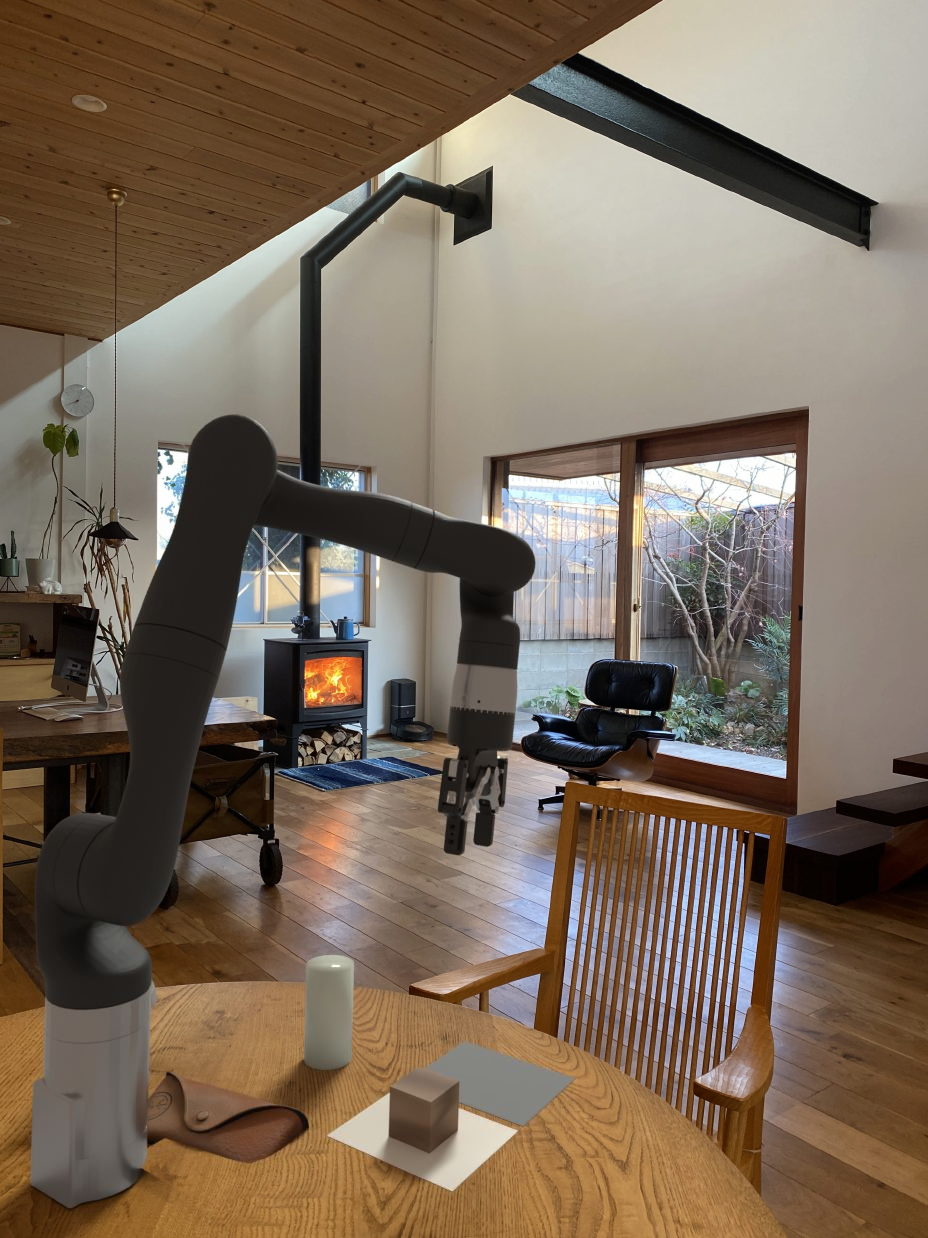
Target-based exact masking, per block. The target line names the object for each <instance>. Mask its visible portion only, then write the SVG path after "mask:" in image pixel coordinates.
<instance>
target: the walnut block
mask: <svg viewBox="0 0 928 1238" xmlns="http://www.w3.org/2000/svg"><path fill="white" fill-rule="evenodd" d="M425 1068H426V1067H422V1066H419V1065H418V1066H417V1067H416V1068H415V1069H414V1070H413V1069H412V1071H411V1072H409V1073H407V1074H406V1075H404V1076H403V1077H402V1078H400V1079H399V1080H397V1081H396V1082H394V1083H393V1084H391V1085H389V1093H390V1102H389V1135H388V1136H389V1137H391V1138H394V1139H396V1140H398V1141H401V1142H403V1143H406V1144H408V1145H410V1146H413V1147H415V1148H417V1149H420V1150H422V1151H424V1152H427V1153H429V1154H430V1153H431V1152H432V1151H433V1150H435V1149H436V1148H437V1147H438V1146H439V1145H441V1144H442V1143H443V1142H444V1141H445V1140H447V1139H448V1138H449V1137H450V1136H451V1135H453V1134H454V1133H455V1132H456V1131H458V1115H459V1108H460V1107H459V1106H460V1104H459V1082H460V1081H458V1080H455V1079H453V1078H450V1077H447V1076H445V1075H442V1074H439V1073H436V1072H434V1071H431V1070H428V1069H425Z"/></svg>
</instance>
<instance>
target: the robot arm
mask: <svg viewBox="0 0 928 1238" xmlns="http://www.w3.org/2000/svg"><path fill="white" fill-rule="evenodd" d="M278 467H279V459H278V453H277V448H276V446H275V443H274V440H273V438H272V437H271V435H270V433H269V432H268V431H267V429H266V428H265V427H264V426H263V425H262V424H261V423H260V422H258V421H257V420H255V419H253V418H252V417H250V416H246V415H242V414H238V413H237V414H234V413H233V414H227V415H221V416H219V417H216V418H214V419H212V420H210V421H209V422H208V423H206V424H205V425H204V426H203V427H202V428H201V429H200V430H199V431H198V432H197V433H196V434H195V436H194V438H193V439H192V440H191V443H190V446H189V450H188V454H187V462H186V472H185V477H184V482H183V483H184V484H183V489H182V493H181V498H180V503H179V508H178V512H177V515H176V520H175V522H174V526H173V529H172V532H171V535H170V537H169V540H168V542H167V544H166V547H165V549H164V551H163V553H162V555H161V558H160V560H159V562H158V565H157V566H156V569H155V571H154V572H153V576H152V579H151V581H150V583H149V585H148V587H147V590H146V593H145V595H144V599H143V600H142V604H141V606H140V609H139V612H138V614H137V617H136V619H135V622H134V624H133V628H132V631H131V634H130V636H129V637H130V638H129V641H128V644H127V647H126V650H125V654H124V657H123V660H122V662H121V668H120V673H119V691H120V698H121V705H122V706H121V707H122V711H123V715H124V720H125V721H124V722H125V725H126V728H127V729H126V730H127V735H128V741H129V750H130V751H129V753H130V754H129V755H130V756H129V757H130V759H129V769H128V775H127V778H126V782H125V786H124V787H125V788H124V790H123V795H122V798H121V802H120V805H119V808H118V811H117V814H116V816H113V815H106V814H100V813H90V812H85V813H84V812H81V813H75V814H73V815H70V816H68V817H66V818H64V819H62V820H61V821H60V822H58V823H57V824H56V825H55V826H54V827H53V828H52V830H50V832H49V833H48V835H47V836H46V838H45V839H44V841H43V844H42V846H41V848H40V850H39V854H38V858H37V862H36V867H35V869H36V870H35V878H34V879H35V880H34V913H35V914H34V915H35V917H34V918H35V920H34V921H35V949H36V961H37V964H38V966H39V969H40V972H41V975H42V977H43V979H44V983H45V985H44V987H45V989H44V993H45V994H44V995H45V997H44V998H45V999H44V1029H43V1030H44V1032H43V1035H44V1037H43V1065H42V1066H43V1068H42V1077H40V1078H38V1079H36V1080H35V1081H34V1082H33V1084H32V1103H31V1105H32V1107H31V1108H32V1109H31V1115H32V1116H31V1145H30V1146H31V1148H30V1150H31V1151H30V1183H29V1185H31V1186H32V1187H34V1188H36V1190H38V1191H41V1192H42V1193H44V1194H45V1195H47V1196H48V1197H50V1198H52V1199H54V1201H56V1202H58V1203H60V1204H62V1206H64V1207H66V1208H68V1209H73V1208H75V1207H76V1206H78V1205H80V1204H82V1203H87V1202H94V1201H98V1200H102V1199H105V1198H108V1197H109V1198H110V1197H111V1196H114V1195H116V1194H118V1193H121V1192H122V1191H124V1190H126V1189H127V1188H130V1187H131V1186H133V1184H135V1183H136V1182H137V1181H138V1180H139V1178H141V1177H142V1175H143V1174H144V1172H145V1169H144V1168H143V1166H144V1165H145V1163H146V1160H147V1156H148V1155H147V1154H148V1153H147V1152H148V1143H147V1128H148V1099H149V1088H150V1087H149V1084H150V1083H149V1081H150V1079H149V1078H150V1050H151V1049H150V1045H151V1044H150V1043H151V1012H152V1010H151V1009H152V1008H151V981H153V979H152V978H153V977H152V973H153V965H152V957H151V955H150V953H149V951H148V949H146V948H145V947H144V946H143V945H142V944H141V943H140V942H139V941H138V940H137V939H136V938H135V937H133V935H132V934H131V933H130V932H129V930H128V929H127V927H130V926H135V925H138V924H140V923H142V922H144V921H146V919H148V918H149V917H151V915H152V914H153V913H154V912H155V911H156V910H157V909H158V907H159V905H160V904H161V902H162V901H163V899H164V897H165V895H166V893H167V891H168V889H169V886H170V884H171V882H172V881H171V880H172V877H173V874H174V871H175V867H176V866H175V865H176V862H177V857H178V853H179V848H180V844H181V843H180V842H181V838H182V831H183V825H184V820H185V814H186V808H187V803H188V798H189V792H190V786H191V780H192V777H193V772H194V769H195V764H196V759H197V755H198V752H199V748H200V744H201V740H202V736H203V731H204V728H205V724H206V720H207V718H208V715H209V710H210V706H211V703H212V700H213V697H214V694H215V691H216V688H217V685H218V683H219V680H220V675H221V671H222V669H223V665H224V660H225V657H226V654H227V651H228V646H229V642H230V637H231V634H232V628H233V624H234V618H235V615H236V614H235V612H236V608H237V603H238V598H239V597H238V596H239V590H240V583H241V577H242V570H243V565H244V564H243V563H244V558H245V554H246V550H247V546H248V543H249V539H250V536H251V533H252V531H253V528H254V526H256V527H262V528H268V529H274V530H279V531H284V532H289V533H293V534H298V535H302V536H306V537H311V538H316V539H319V540H323V541H327V542H331V543H334V544H337V545H341V546H345V547H349V548H352V549H355V550H359V551H361V552H364V553H367V554H370V555H373V556H376V557H378V558H382V559H385V560H387V561H391V562H394V563H397V564H399V565H402V566H405V567H408V568H410V569H411V568H412V569H414V570H418V571H420V572H425V573H430V574H437V573H438V574H439V573H440V574H441V573H442V574H447V575H450V576H453V577H456V578H458V579H459V608H460V609H459V610H460V620H461V624H460V625H461V629H460V633H459V638H458V639H459V642H458V648H457V659H456V666H455V671H454V676H453V681H452V686H451V695H450V705H449V714H448V715H449V716H448V723H447V724H448V725H447V734H446V742H447V744H448V745H449V746H453V747H457V748H458V751H457V752H458V753H457V757H456V758H454V757H445V758H444V760H443V764H442V772H441V779H440V787H439V788H440V789H439V794H438V803H437V812H438V814H443V817H444V818H446V821H445V823H446V824H445V832H444V840H443V841H444V844H443V851H444V853H445V854H447V855H453V856H462V855H463V854H464V853H465V850H466V849H465V848H466V841H467V830H468V818H469V816H470V813H471V810H472V808H473V806H475V807H476V811H477V812H475V822H474V829H473V830H474V831H473V839H472V840H473V841H472V842H473V844H474V845H476V846H480V847H485V848H486V847H491V846H492V845H493V843H494V834H495V824H496V823H495V822H496V815H497V814H498V813H499V811H500V808H504V807H505V804H506V795H507V794H506V792H507V780H508V779H507V777H508V766H509V759H508V757H507V756H506V757H504V756H501V755H498V752H509V751H511V749H512V748H513V740H514V731H515V722H516V721H515V720H516V709H517V703H518V702H517V699H518V668H519V667H518V665H519V655H520V645H521V630H520V626H519V623H517V622H516V620H515V619H514V604H515V603H514V599H515V593H516V592H518V591H520V590H521V589H523V588H524V587H525V586H526V585H527V584H528V583H529V582H530V581H531V579H532V578H533V576H534V573H535V571H536V570H535V569H536V558H535V557H536V556H535V553H534V551H533V549H532V547H531V546H530V545H529V543H528V542H527V541H526V540H525V539H524V538H523V537H521V536H520V535H518V534H517V533H514V532H512V531H509V530H506V529H504V528H501V527H497V526H494V525H490V524H485V523H481V522H477V521H472V520H467V519H461V518H456V517H452V516H449V515H447V514H444V513H442V512H439V511H438V510H437V511H436V510H435V509H431V508H429V507H426V506H422V505H420V504H417V503H415V502H411V501H409V500H407V499H403V498H401V497H398V496H394V495H389V494H384V493H380V492H374V491H366V490H365V491H363V490H354V489H353V490H352V489H343V488H342V489H341V488H333V487H328V486H323V485H319V484H315V483H310V482H307V481H304V480H302V479H299V478H296V477H293V476H291V475H290V474H287V473H285V472H283V471H282V470H279V469H278Z"/></svg>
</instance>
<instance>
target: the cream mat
mask: <svg viewBox="0 0 928 1238" xmlns="http://www.w3.org/2000/svg"><path fill="white" fill-rule="evenodd" d="M389 1102H390V1092H388V1093H387V1094H385V1095H384V1096H383V1097H380V1098H379V1099H377V1101H375V1102H373V1103H372V1104H370V1105H369V1106H368V1107H366V1108H365V1109H364V1110H362V1111H360V1112H359V1113H357V1114H356V1115H355V1116H353V1117H351V1118H350V1119H349V1120H347V1121H346V1122H344V1123H343V1124H342V1125H340V1126H339V1127H337V1128H336V1129H334V1130H333V1131H331V1132H330V1133H329V1134H327V1135H326V1137H328V1138H330V1139H333V1140H335V1141H337V1142H339V1143H341V1144H344V1145H346V1146H349V1147H351V1148H353V1149H356V1150H358V1151H360V1152H362V1153H364V1154H366V1155H369V1156H371V1157H373V1158H376V1159H377V1160H380V1161H383V1162H384V1163H387V1164H388V1165H391V1166H394V1167H396V1168H398V1169H400V1170H402V1171H405V1172H407V1173H409V1174H411V1175H414V1176H415V1177H419V1178H420V1179H423V1180H425V1181H427V1182H429V1183H431V1184H433V1185H436V1186H438V1187H440V1188H442V1189H445V1190H447V1191H449V1192H454V1191H455V1190H456V1189H457V1188H459V1186H461V1184H463V1183H464V1182H465V1181H466V1180H467V1179H468V1178H469V1177H470V1176H471V1175H472V1174H474V1173H475V1172H476V1171H477V1170H478V1169H479V1168H480V1167H481V1166H482V1165H483V1164H484V1163H485V1162H487V1160H488V1159H490V1158H491V1157H492V1156H493V1155H494V1154H495V1153H496V1152H498V1150H500V1149H501V1147H503V1146H504V1145H505V1144H506V1143H507V1142H508V1141H510V1139H511V1138H513V1137H514V1136H515V1135H516V1134H517V1133H519V1131H518V1129H514V1128H512V1127H509V1126H506V1125H503V1123H502V1124H501V1123H499V1122H497V1121H494V1120H490V1119H488V1118H486V1117H483V1116H482V1115H481V1116H480V1115H478V1114H476V1113H473V1112H471V1111H467V1110H465V1109H462V1108H461V1107H459V1115H458V1131H456V1132H455V1133H454V1134H453V1135H451V1136H450V1137H449V1138H448V1139H447V1140H445V1141H444V1142H443V1143H442V1144H441V1145H439V1146H438V1147H437V1148H436V1149H435V1150H433V1151H432V1152H431V1153H430V1154H429V1153H427V1152H424V1151H422V1150H420V1149H417V1148H415V1147H413V1146H410V1145H408V1144H406V1143H403V1142H401V1141H398V1140H396V1139H394V1138H391V1137H389V1136H388V1135H389Z"/></svg>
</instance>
